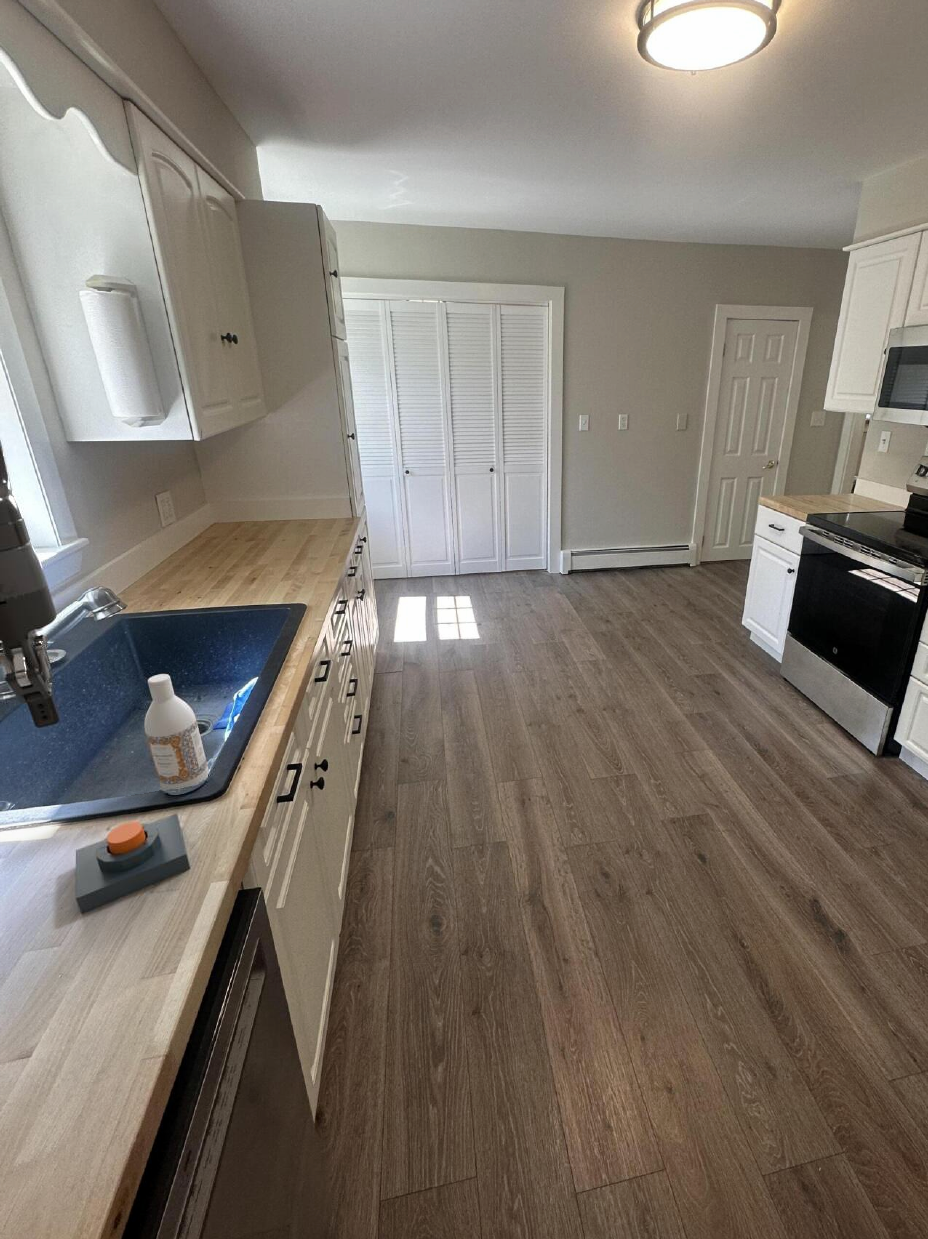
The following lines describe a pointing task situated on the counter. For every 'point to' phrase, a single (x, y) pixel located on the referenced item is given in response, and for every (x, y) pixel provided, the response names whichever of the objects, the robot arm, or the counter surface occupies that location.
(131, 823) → the button
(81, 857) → the button base
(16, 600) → the robot arm
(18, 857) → the counter surface
